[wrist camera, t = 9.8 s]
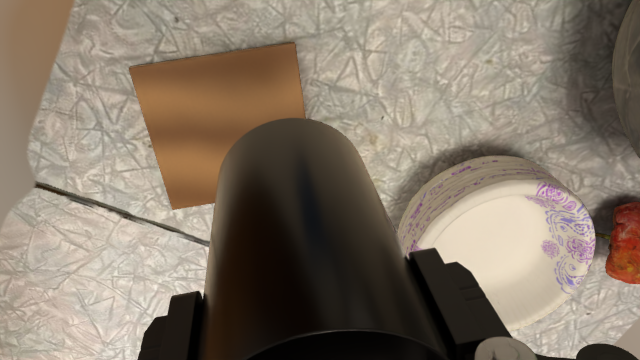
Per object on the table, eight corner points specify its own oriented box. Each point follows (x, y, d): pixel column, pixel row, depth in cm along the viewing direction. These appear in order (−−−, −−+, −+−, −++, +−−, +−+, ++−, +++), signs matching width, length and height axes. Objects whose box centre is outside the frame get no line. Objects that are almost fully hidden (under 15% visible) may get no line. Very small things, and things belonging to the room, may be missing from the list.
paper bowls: (351, 221, 45) (371, 278, 38) (486, 103, 41) (535, 142, 34) (450, 304, 51) (482, 365, 44) (574, 209, 47) (631, 260, 40)
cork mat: (130, 66, 36) (128, 68, 35) (294, 41, 36) (295, 43, 36) (173, 206, 42) (172, 210, 41) (314, 182, 42) (315, 186, 42)
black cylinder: (200, 131, 19) (148, 365, 9) (358, 105, 19) (473, 302, 9) (235, 259, 21) (223, 540, 12) (371, 234, 22) (469, 488, 12)
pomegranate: (568, 247, 52) (681, 276, 48) (561, 279, 46) (689, 316, 42) (585, 182, 50) (706, 206, 45) (580, 206, 44) (719, 238, 39)
